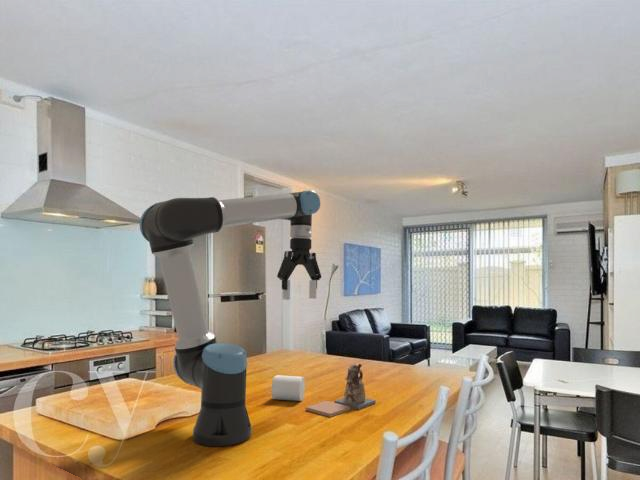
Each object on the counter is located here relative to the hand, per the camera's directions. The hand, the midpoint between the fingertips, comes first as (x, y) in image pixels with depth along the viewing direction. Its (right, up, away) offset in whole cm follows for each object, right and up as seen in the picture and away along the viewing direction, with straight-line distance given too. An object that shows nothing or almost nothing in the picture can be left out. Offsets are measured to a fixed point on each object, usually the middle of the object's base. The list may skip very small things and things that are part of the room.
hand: (299, 299), depth 155 cm
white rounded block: (-4, -35, +1) cm, 35 cm away
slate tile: (+19, -35, -5) cm, 40 cm away
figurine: (+19, -34, -5) cm, 39 cm away
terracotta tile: (+10, -34, -13) cm, 37 cm away
